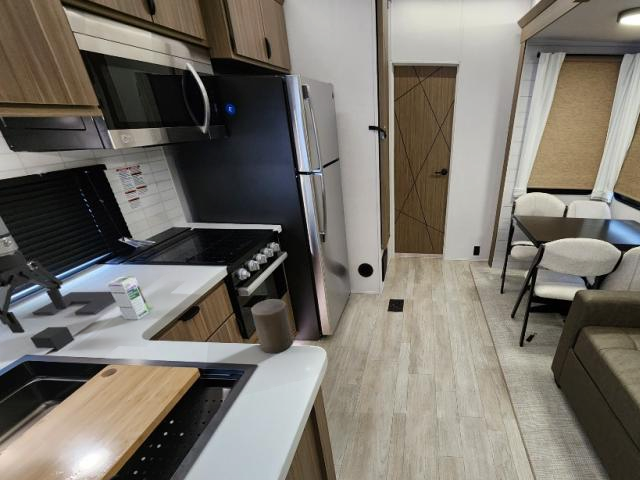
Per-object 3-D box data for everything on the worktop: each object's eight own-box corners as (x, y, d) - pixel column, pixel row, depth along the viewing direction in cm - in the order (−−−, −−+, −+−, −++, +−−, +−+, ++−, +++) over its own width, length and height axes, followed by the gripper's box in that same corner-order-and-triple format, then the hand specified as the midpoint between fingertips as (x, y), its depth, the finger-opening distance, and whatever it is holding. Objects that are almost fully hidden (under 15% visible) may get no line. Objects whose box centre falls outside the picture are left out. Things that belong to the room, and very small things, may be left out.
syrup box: (138, 320, 118) (122, 283, 111) (123, 319, 118) (106, 282, 111) (150, 311, 123) (135, 276, 116) (136, 311, 123) (120, 275, 116)
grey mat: (35, 318, 119) (32, 312, 118) (73, 297, 133) (70, 292, 132) (96, 317, 119) (93, 311, 118) (128, 296, 133) (125, 291, 132)
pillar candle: (295, 348, 102) (286, 306, 94) (261, 357, 98) (250, 313, 91) (291, 332, 109) (283, 292, 102) (259, 339, 106) (249, 298, 99)
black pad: (38, 351, 102) (29, 337, 99) (56, 340, 107) (48, 327, 105) (58, 351, 102) (49, 337, 99) (74, 339, 107) (67, 326, 105)
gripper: (-40, 271, 79) (11, 343, 89) (55, 239, 101) (88, 300, 111) (-71, 271, 79) (-17, 344, 89) (31, 239, 101) (65, 300, 111)
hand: (41, 319), depth 100 cm, fingers open, 13 cm apart
